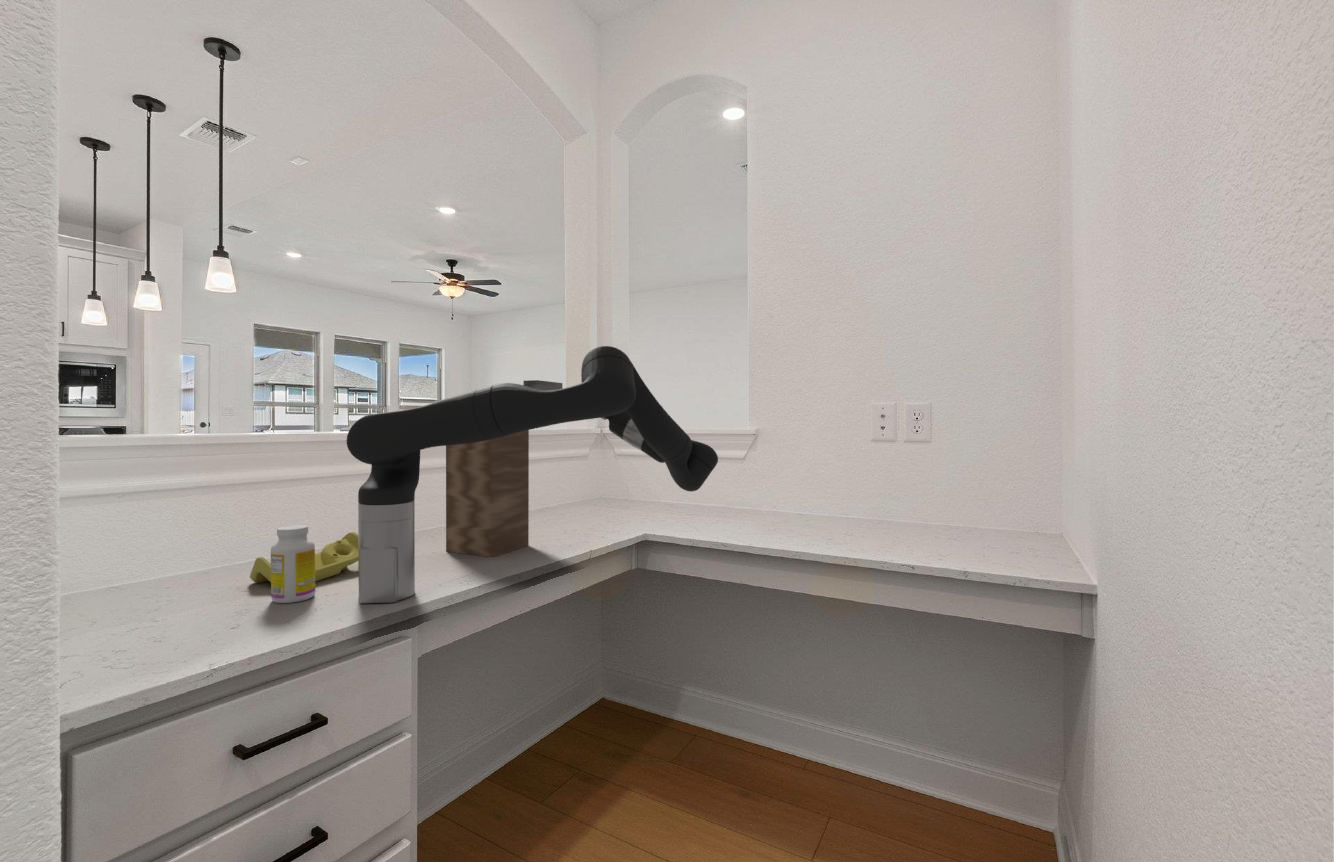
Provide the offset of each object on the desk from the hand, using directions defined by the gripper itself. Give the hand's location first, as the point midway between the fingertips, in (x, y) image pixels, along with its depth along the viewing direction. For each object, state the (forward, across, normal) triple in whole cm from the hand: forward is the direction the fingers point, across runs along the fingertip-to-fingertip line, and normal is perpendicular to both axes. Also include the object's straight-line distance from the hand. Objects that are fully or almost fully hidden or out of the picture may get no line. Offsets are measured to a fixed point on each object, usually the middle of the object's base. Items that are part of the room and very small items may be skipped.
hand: (577, 389), depth 133 cm
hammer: (+1, 0, -4) cm, 4 cm away
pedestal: (+3, 0, -47) cm, 47 cm away
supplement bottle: (+6, -46, -49) cm, 68 cm away
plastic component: (+15, -35, -55) cm, 67 cm away
